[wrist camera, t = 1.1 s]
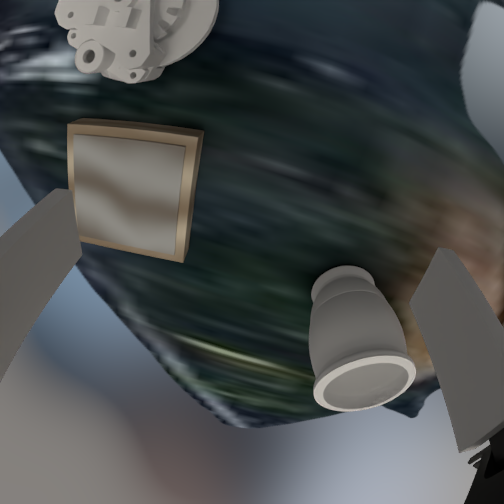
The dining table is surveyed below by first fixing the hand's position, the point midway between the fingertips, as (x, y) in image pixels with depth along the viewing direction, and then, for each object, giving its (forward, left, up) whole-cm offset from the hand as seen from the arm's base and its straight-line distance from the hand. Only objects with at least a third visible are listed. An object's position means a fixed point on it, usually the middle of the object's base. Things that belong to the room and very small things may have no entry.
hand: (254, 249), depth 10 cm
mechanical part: (-9, -11, -22) cm, 27 cm away
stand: (+9, -12, -22) cm, 27 cm away
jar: (+18, +15, -22) cm, 32 cm away
